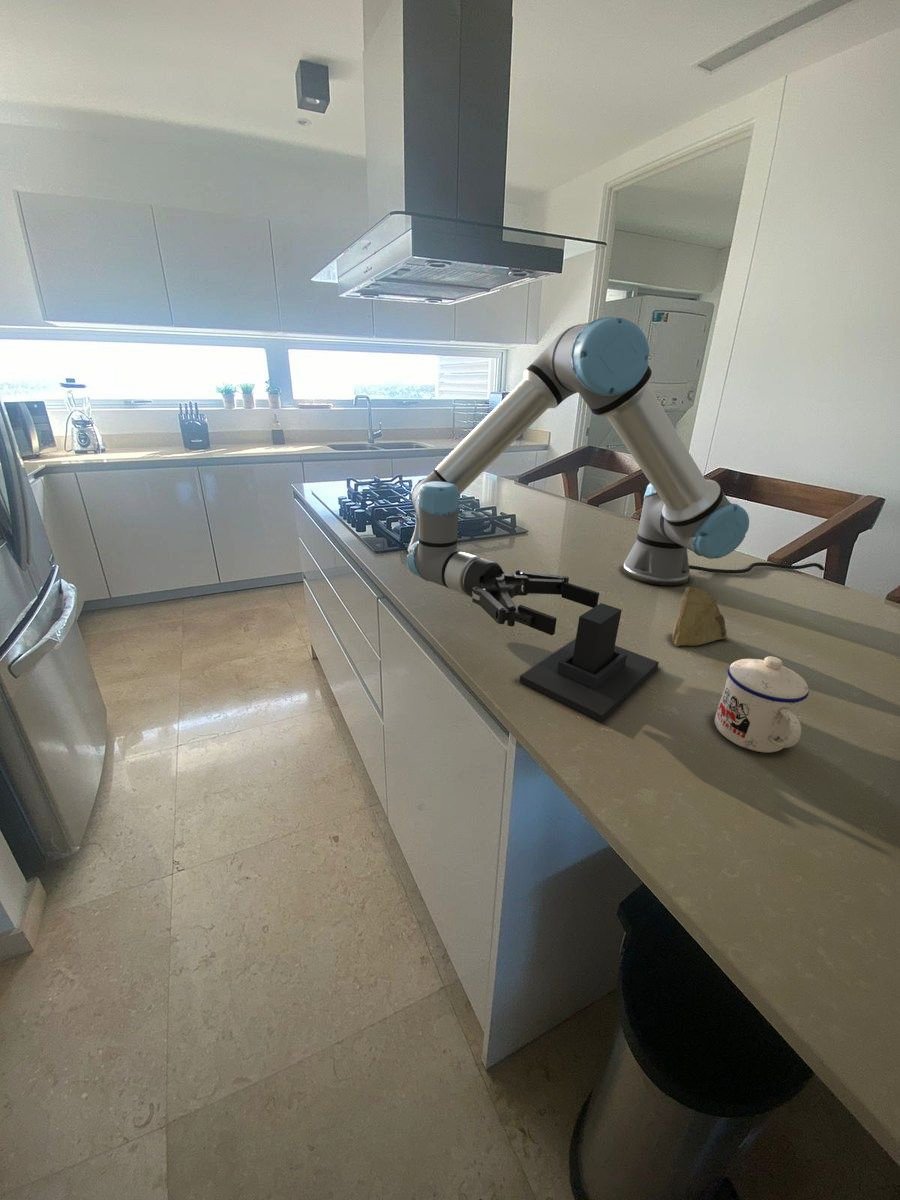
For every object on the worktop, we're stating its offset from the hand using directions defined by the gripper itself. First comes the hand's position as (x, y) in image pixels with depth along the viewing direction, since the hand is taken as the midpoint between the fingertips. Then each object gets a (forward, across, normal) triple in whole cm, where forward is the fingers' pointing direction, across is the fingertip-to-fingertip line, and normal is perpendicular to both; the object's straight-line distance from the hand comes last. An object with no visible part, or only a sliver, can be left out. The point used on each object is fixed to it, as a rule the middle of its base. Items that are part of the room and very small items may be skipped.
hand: (577, 613), depth 77 cm
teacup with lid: (+28, -1, -10) cm, 29 cm away
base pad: (+4, 0, -10) cm, 11 cm away
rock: (+13, -25, -10) cm, 30 cm away
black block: (+4, 0, -9) cm, 9 cm away
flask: (-59, -23, -10) cm, 64 cm away
